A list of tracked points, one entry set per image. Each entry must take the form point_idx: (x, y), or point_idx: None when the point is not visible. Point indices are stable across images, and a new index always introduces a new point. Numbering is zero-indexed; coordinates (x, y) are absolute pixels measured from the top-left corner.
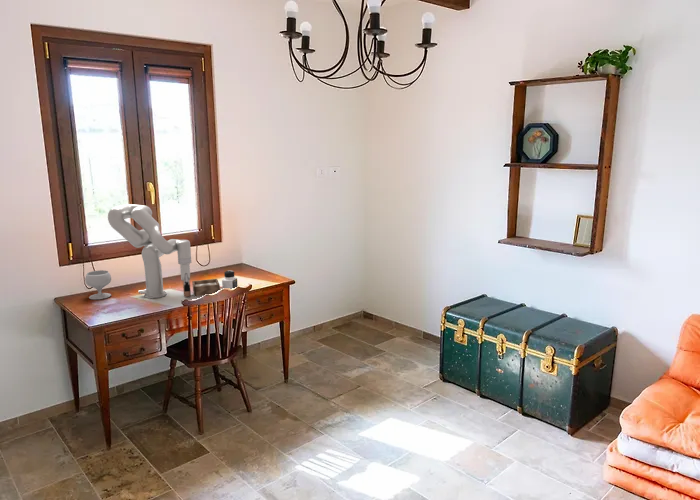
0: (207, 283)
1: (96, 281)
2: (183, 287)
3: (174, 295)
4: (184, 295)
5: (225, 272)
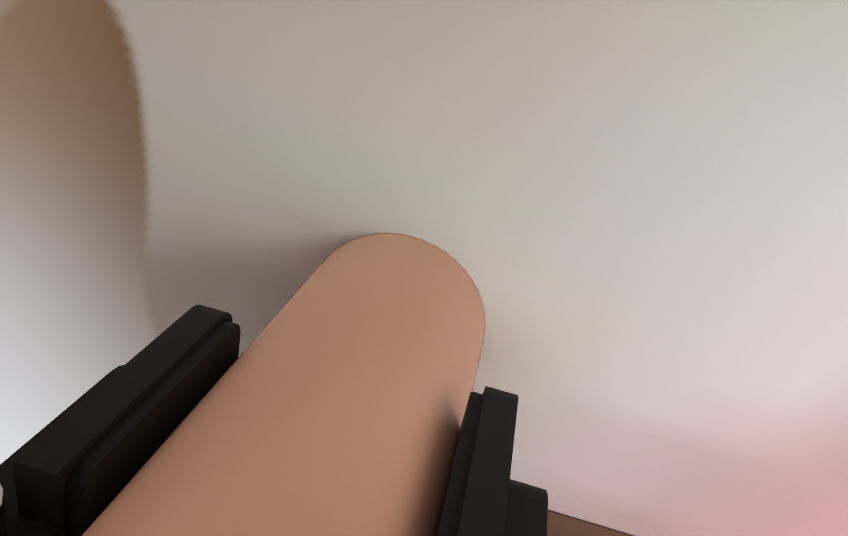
0: None
1: None
2: (267, 389)
3: (702, 11)
4: (348, 252)
5: None
